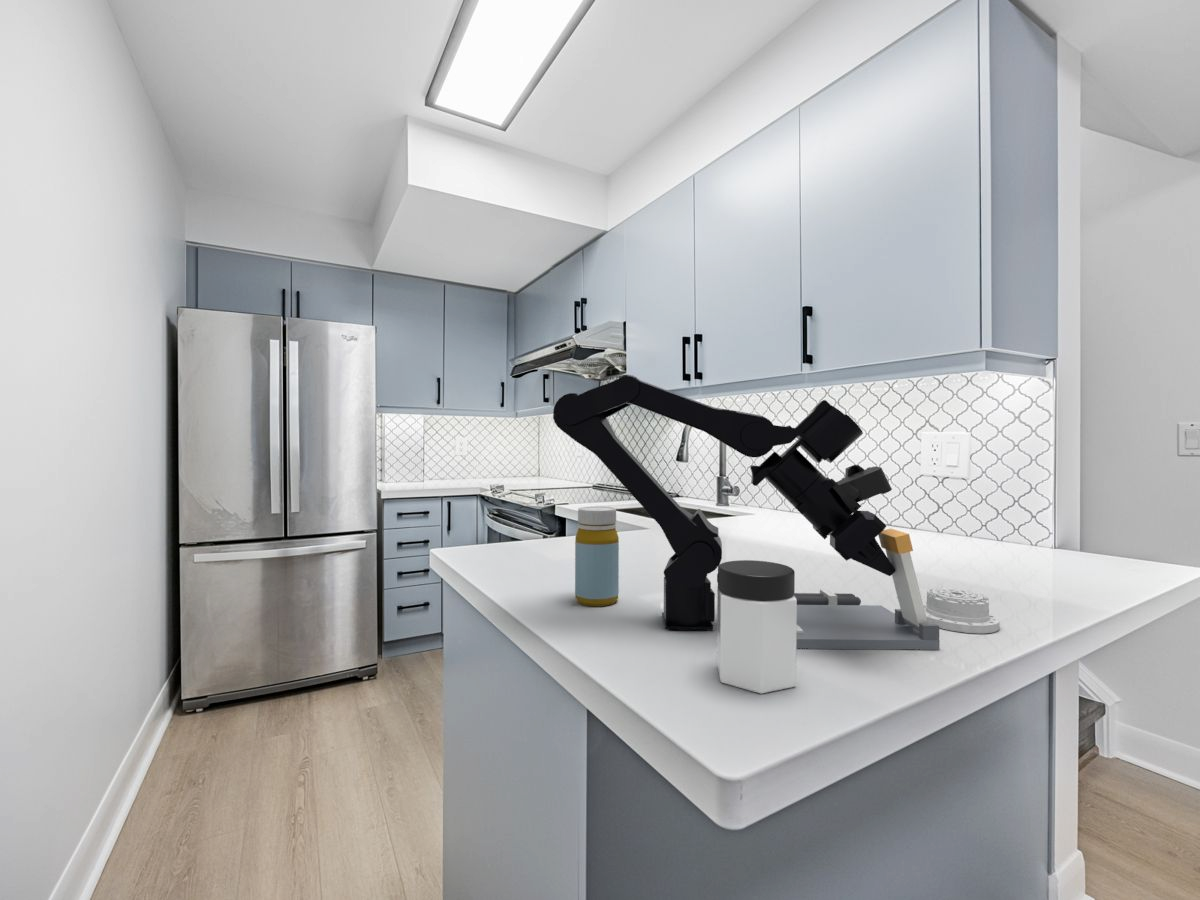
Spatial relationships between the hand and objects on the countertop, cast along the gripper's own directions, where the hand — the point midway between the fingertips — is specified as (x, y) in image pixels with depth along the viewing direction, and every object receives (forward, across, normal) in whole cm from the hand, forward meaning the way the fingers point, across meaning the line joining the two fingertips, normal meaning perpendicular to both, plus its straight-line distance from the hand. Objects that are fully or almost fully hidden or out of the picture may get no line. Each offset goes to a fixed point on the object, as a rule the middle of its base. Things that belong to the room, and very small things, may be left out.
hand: (892, 572), depth 74 cm
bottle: (-23, +8, +36) cm, 43 cm away
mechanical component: (+14, +9, -2) cm, 17 cm away
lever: (+7, 0, +2) cm, 7 cm away
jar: (-6, -17, +19) cm, 26 cm away
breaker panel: (+1, +2, +11) cm, 11 cm away
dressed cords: (-1, +13, +13) cm, 19 cm away
